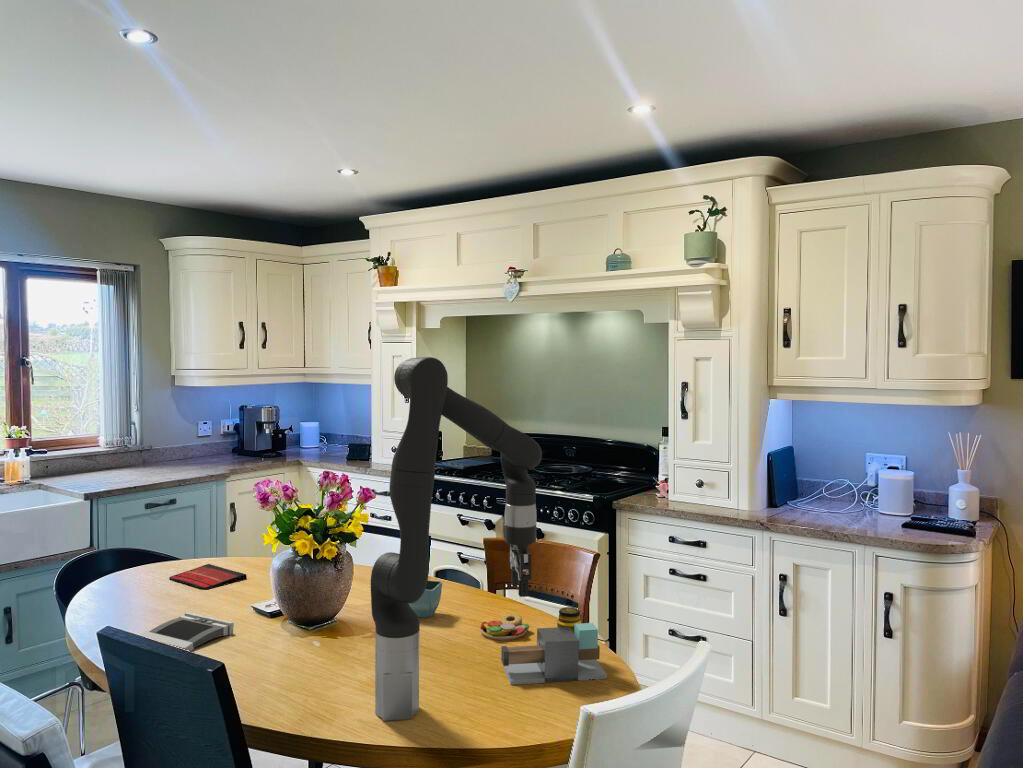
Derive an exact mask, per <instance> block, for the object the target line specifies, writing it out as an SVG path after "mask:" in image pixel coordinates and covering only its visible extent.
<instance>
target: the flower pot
mask: <svg viewBox="0 0 1023 768" xmlns="http://www.w3.org/2000/svg"><path fill="white" fill-rule="evenodd" d="M442 588H443V581H440V580H429V579H428V581H427V585H426V588H425V591H424V593H423V595H422V596H421V598H420V599H419V600H417V601H416V602H414V603H408V604H409V606H410V607H411V608H412V609H413V611H414V612H415V613H416V614H417V615H418V617H419V618H424V619H425V618H426V619H429V618H430V617H432V616H433V614H435V612H436V611H437V609H438V608H439V605H440V602H441V597H442V590H443V589H442Z"/></svg>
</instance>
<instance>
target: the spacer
mask: <svg viewBox="0 0 1023 768" xmlns="http://www.w3.org/2000/svg"><path fill="white" fill-rule="evenodd" d="M574 634H575V636H576V637H577V639H578V640H579V649H593V648H598V645H599V644H598V643H599V642H598V641H599V640H598V639H599V637H598V636H599V629H598V628H597V627H596V625H595V624H594V623H593V622H585V623H583V622H581V624H575V631H574Z"/></svg>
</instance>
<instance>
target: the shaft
mask: <svg viewBox="0 0 1023 768" xmlns="http://www.w3.org/2000/svg"><path fill="white" fill-rule="evenodd" d="M500 647H501V648H500V649H501V650H500V653H501V654H500V656H501V658H500V660H501V663H502V665H503V667H504V666H509V664H527V663H542V662H543V648H542V647H541V645H537V644H536V645H519V646H507V645H501V646H500ZM600 649H601V648H600V645H599V644H598V648H593V649H579V654H578V660H600V655H601V654H600V653H601V652H600Z"/></svg>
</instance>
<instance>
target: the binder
mask: <svg viewBox="0 0 1023 768" xmlns="http://www.w3.org/2000/svg"><path fill="white" fill-rule="evenodd" d="M239 579H243V580H244V579H245V580H247V574H246V573H244V572H239V571H235V570H232V569H227V568H225V567H220V566H217V565H214V564H210V563H207V564H204V565H200V566H199V567H195V568H192V569H190V570H186V571H183V572H180V573H177V574H173V575H171V576H169V580H170V581H173V582H178V583H182V584H185V585H189V586H193V587H195V588H197V589H198V590H203V591H204V590H210V589H215V588H217V587H221V586H225V585H230V584H233V583H237V582H238V580H239Z"/></svg>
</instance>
